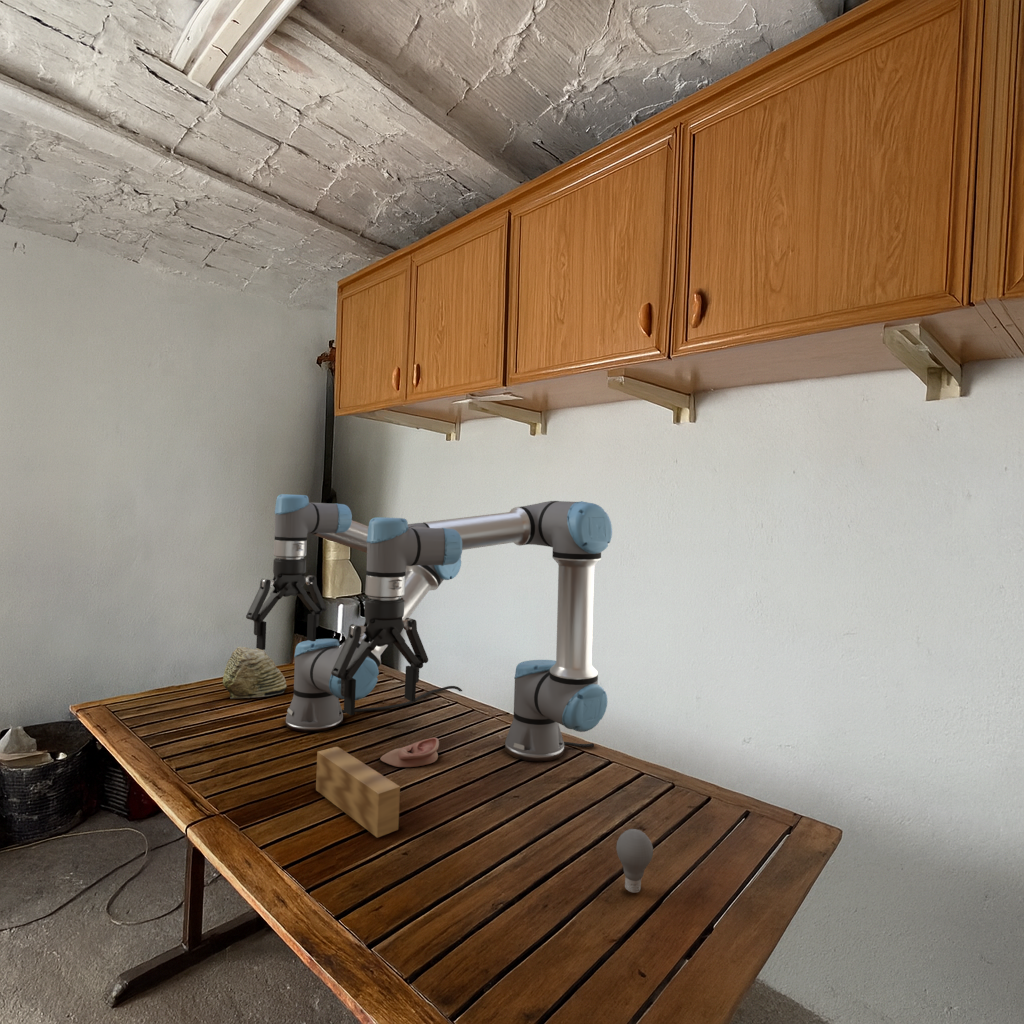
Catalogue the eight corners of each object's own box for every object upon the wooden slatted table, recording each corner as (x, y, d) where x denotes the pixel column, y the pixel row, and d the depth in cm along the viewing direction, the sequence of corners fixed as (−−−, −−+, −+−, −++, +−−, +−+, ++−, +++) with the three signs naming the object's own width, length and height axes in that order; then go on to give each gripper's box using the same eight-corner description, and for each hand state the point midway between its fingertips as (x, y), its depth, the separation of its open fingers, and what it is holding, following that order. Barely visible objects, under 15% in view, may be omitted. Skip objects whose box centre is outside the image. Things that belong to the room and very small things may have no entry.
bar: (315, 790, 137) (317, 751, 136) (335, 783, 140) (337, 746, 140) (377, 837, 119) (378, 793, 119) (398, 829, 122) (400, 786, 122)
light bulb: (610, 879, 108) (613, 822, 108) (644, 879, 109) (647, 822, 109) (619, 902, 102) (622, 840, 102) (655, 901, 103) (658, 840, 103)
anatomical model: (375, 747, 151) (394, 730, 162) (374, 764, 151) (393, 746, 162) (428, 754, 148) (443, 736, 159) (427, 771, 148) (443, 752, 159)
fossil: (218, 695, 195) (220, 647, 195) (278, 685, 208) (279, 640, 207) (228, 703, 189) (230, 653, 188) (289, 692, 201) (290, 645, 201)
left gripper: (249, 561, 142) (246, 655, 142) (342, 556, 161) (339, 639, 162) (232, 558, 147) (229, 649, 147) (324, 554, 166) (321, 634, 166)
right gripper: (335, 605, 111) (330, 725, 112) (448, 595, 128) (443, 699, 129) (315, 599, 117) (311, 713, 117) (426, 590, 134) (422, 689, 134)
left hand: (286, 644), depth 154 cm, fingers open, 13 cm apart
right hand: (380, 706), depth 123 cm, fingers open, 13 cm apart
